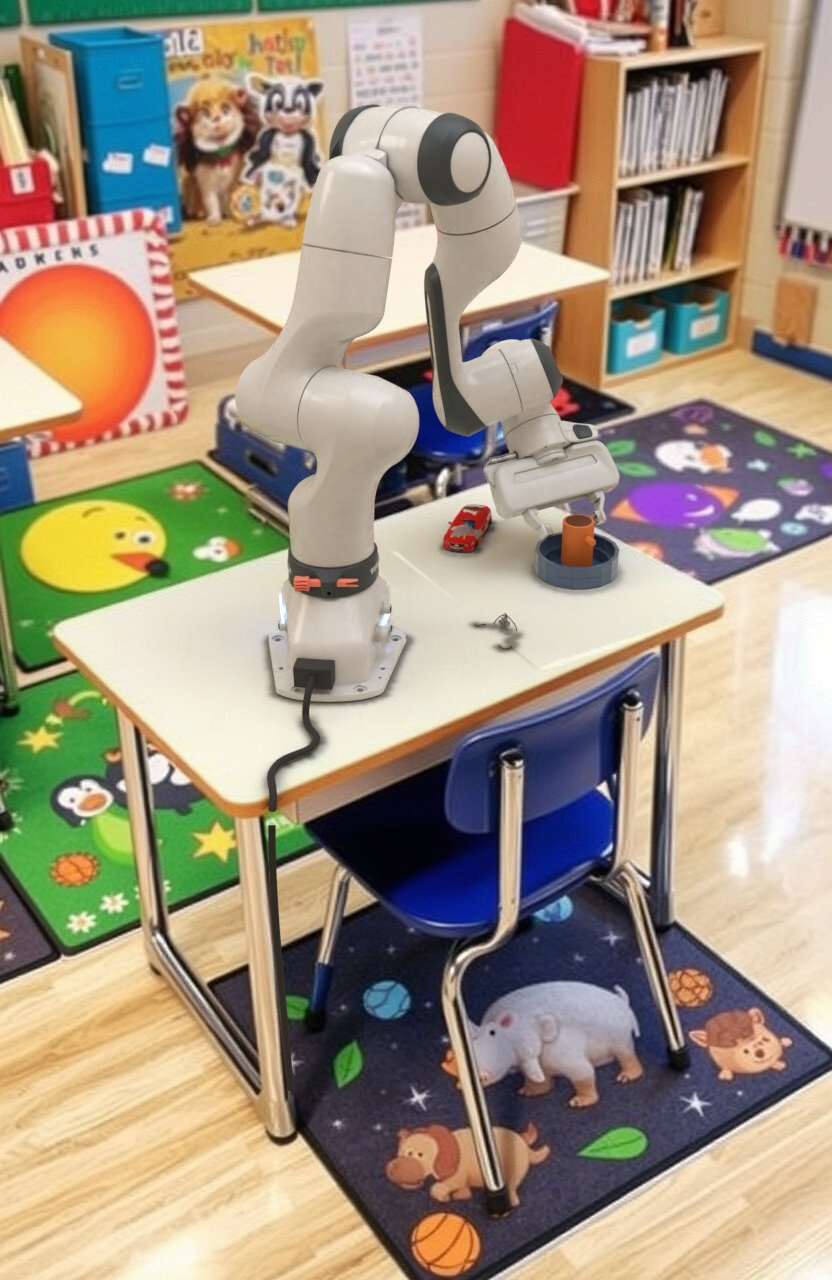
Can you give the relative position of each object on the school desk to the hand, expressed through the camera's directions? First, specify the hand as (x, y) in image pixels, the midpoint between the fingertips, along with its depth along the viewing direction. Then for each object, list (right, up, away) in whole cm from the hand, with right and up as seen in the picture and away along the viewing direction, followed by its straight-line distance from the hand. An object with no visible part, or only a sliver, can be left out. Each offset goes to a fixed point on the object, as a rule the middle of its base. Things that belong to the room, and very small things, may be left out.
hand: (574, 530), depth 205 cm
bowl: (+1, -6, +2) cm, 7 cm away
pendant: (-12, -15, -13) cm, 23 cm away
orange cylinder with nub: (+1, -6, +2) cm, 6 cm away
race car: (-15, 0, +13) cm, 20 cm away
